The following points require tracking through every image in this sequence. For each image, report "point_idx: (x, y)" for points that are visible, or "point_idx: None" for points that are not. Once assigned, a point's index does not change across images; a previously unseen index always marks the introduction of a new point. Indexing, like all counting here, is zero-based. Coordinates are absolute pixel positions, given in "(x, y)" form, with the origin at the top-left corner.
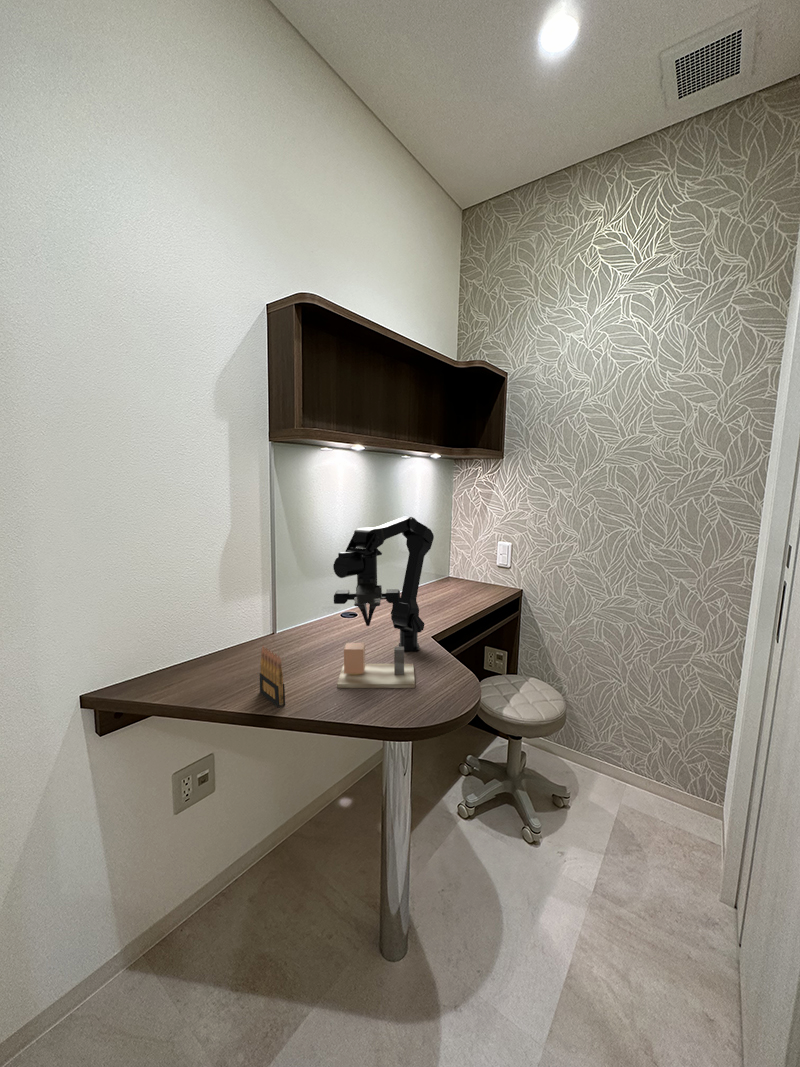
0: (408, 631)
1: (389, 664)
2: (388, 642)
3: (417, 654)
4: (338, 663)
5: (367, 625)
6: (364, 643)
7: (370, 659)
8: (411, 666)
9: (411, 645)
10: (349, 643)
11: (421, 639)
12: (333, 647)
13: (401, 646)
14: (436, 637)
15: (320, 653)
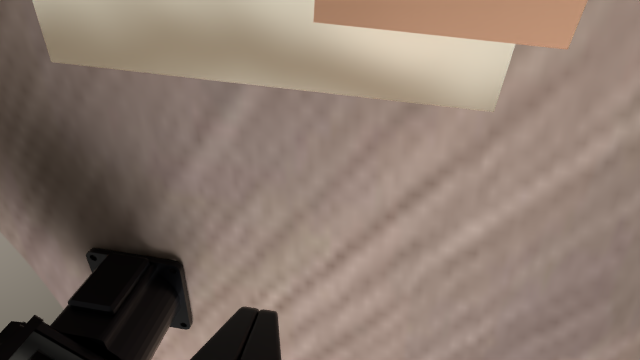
0: (79, 343)
1: (189, 64)
2: None
3: (90, 217)
4: (512, 163)
5: (263, 313)
6: (322, 2)
7: (316, 193)
8: (48, 14)
9: (103, 268)
10: (529, 20)
11: None
12: (498, 352)
13: (165, 287)
14: None
15: (586, 304)
